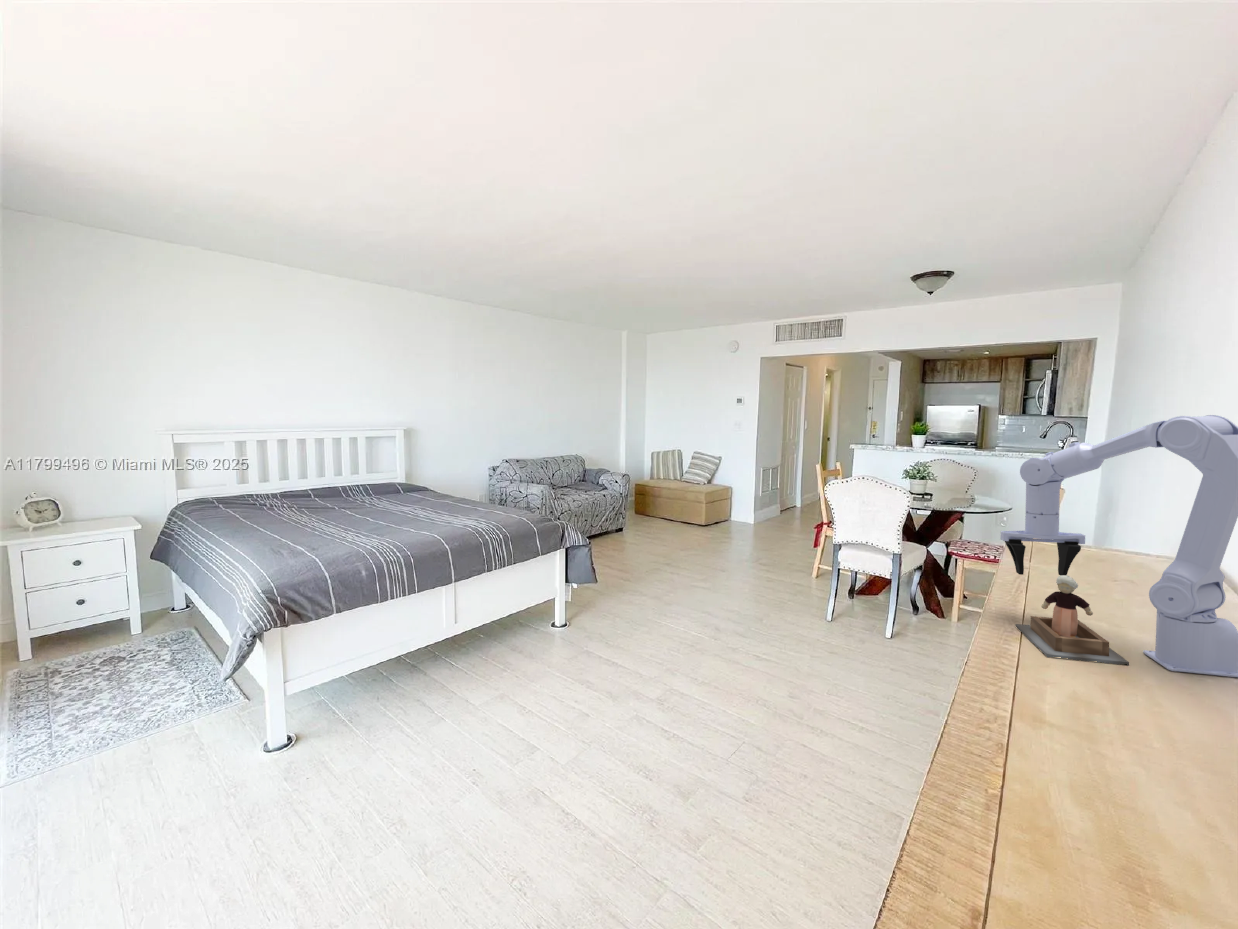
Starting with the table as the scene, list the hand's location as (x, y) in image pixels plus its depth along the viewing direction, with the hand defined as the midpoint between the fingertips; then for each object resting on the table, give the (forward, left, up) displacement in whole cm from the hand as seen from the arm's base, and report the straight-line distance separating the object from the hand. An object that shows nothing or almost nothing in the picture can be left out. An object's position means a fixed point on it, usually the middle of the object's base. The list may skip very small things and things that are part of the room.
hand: (1040, 574), depth 114 cm
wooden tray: (0, +13, -10) cm, 17 cm away
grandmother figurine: (-1, +11, -10) cm, 15 cm away
